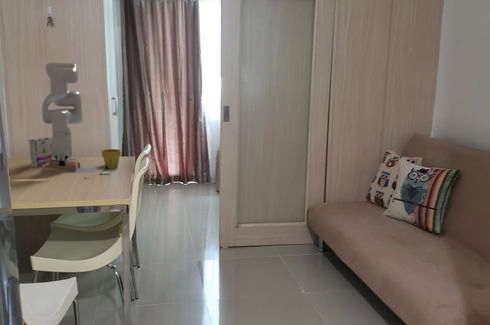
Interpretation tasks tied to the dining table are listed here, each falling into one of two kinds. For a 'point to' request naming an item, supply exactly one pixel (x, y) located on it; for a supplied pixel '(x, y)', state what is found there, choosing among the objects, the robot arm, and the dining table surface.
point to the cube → (72, 163)
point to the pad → (105, 173)
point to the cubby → (58, 168)
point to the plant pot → (111, 157)
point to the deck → (78, 170)
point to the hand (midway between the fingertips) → (62, 167)
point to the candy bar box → (40, 152)
